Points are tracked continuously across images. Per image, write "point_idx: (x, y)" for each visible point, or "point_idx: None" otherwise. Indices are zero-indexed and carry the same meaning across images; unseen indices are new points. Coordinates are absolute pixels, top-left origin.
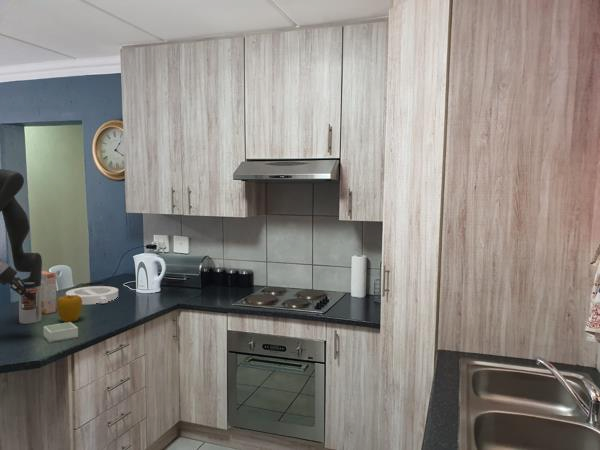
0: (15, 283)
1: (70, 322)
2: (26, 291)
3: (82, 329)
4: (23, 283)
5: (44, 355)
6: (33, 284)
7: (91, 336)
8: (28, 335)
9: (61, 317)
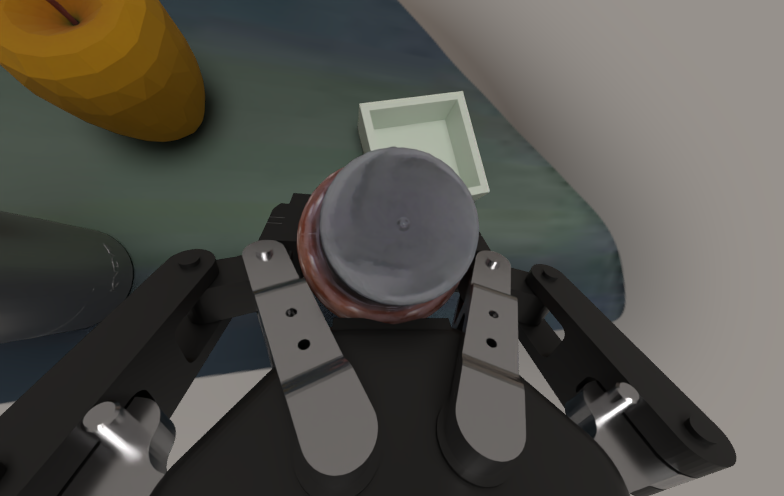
0: (717, 439)
1: (367, 105)
2: (545, 265)
3: (341, 87)
4: (321, 321)
5: (582, 221)
6: (446, 172)
7: (444, 75)
8: None
9: (176, 134)
